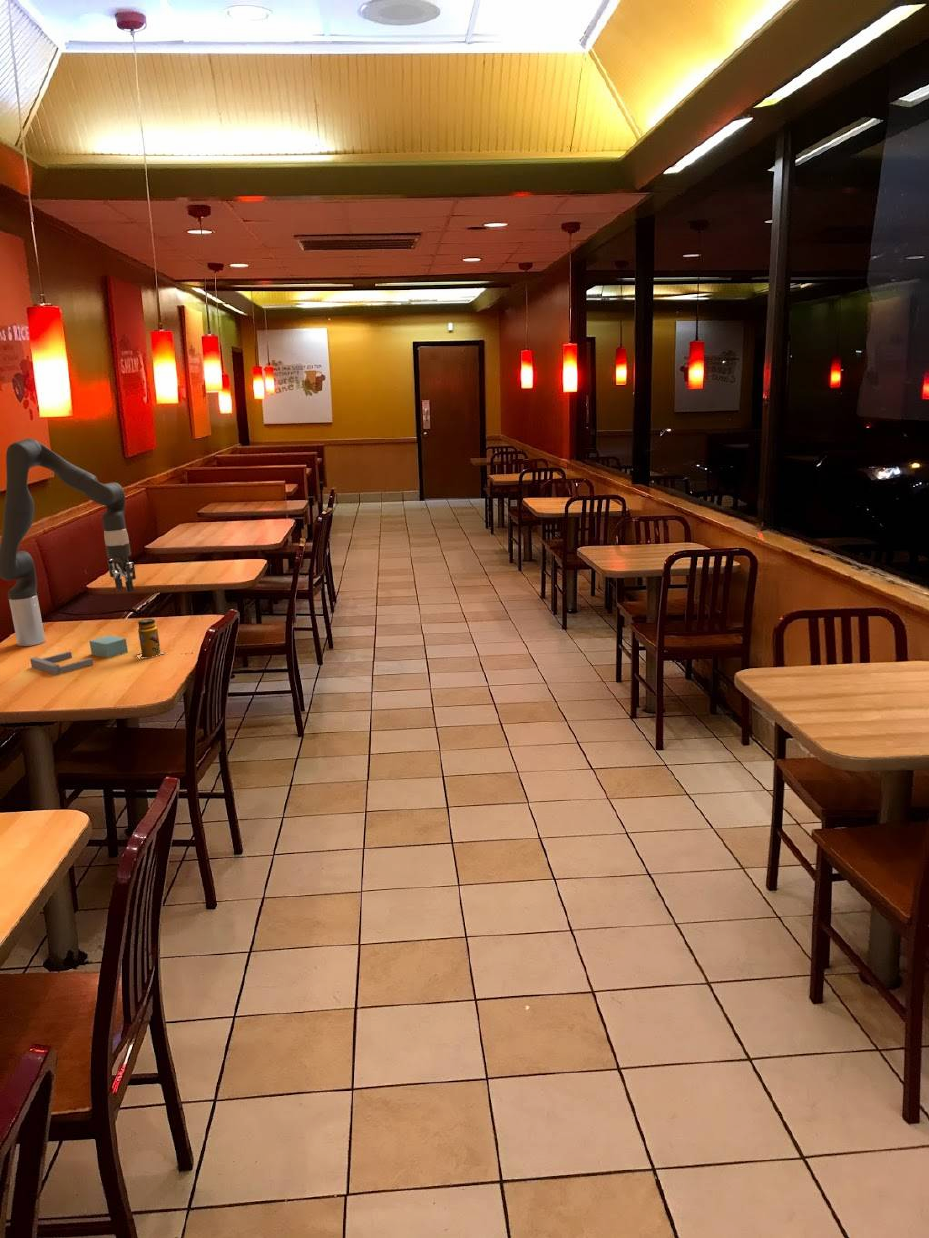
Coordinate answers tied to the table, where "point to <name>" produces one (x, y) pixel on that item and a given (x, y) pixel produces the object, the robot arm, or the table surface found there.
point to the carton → (108, 646)
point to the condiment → (148, 638)
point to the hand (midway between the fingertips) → (125, 590)
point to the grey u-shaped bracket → (54, 669)
